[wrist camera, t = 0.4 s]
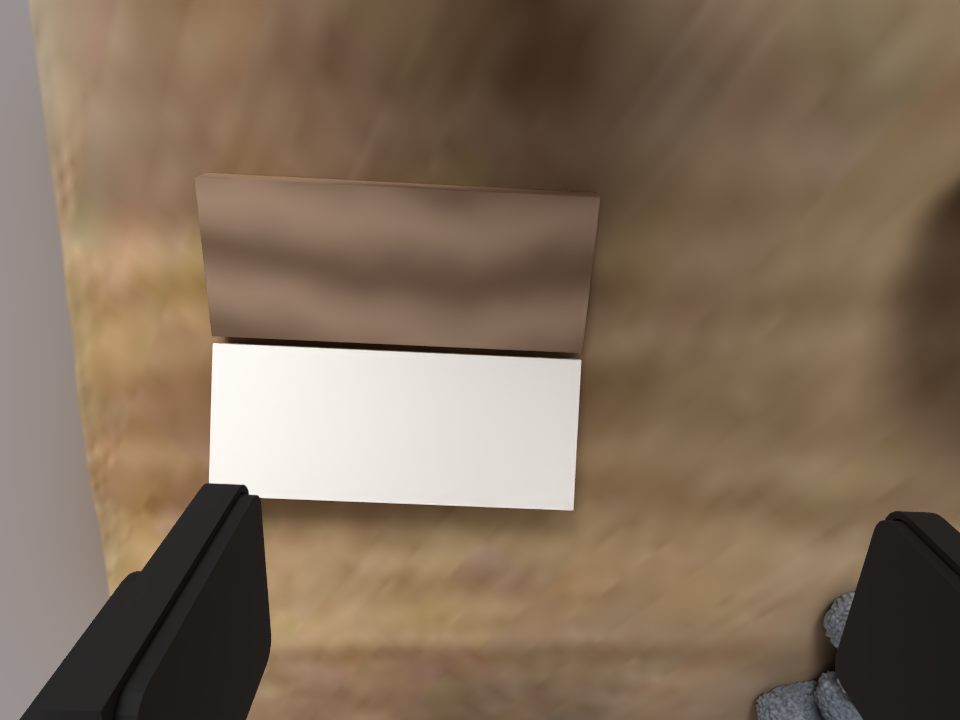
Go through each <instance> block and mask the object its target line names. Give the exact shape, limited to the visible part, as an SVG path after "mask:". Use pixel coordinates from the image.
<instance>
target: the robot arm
mask: <svg viewBox="0 0 960 720" xmlns="http://www.w3.org/2000/svg"><path fill="white" fill-rule="evenodd" d="M270 647H271V628H270V615H269V602H268V589H267V576H266V563H265V550H264V537H263V524H262V510H261V501H260V498H259V496H258V495H249V491H248V489H247V487H246V486H245V485H240V484H215V483H207V484H204V485H203V486H202V487H201V489H200V490H199V492H198V493H197V494H196V496H195V497H194V499H193V500H192V501H191V503H190V504H189V505H188V507H187V508H186V510H185V511H184V512H183V514H182V515H181V517H180V518H179V519H178V521H177V522H176V524H175V525H174V526H173V528H172V529H171V531H170V532H169V533H168V535H167V536H166V538H165V539H164V540H163V542H162V543H161V545H160V546H159V547H158V549H157V550H156V552H155V553H154V554H153V556H152V557H151V558H150V560H149V561H148V563H147V564H146V565H145V567H144V568H143V570H142V571H136V572H133V573H131V574H129V575H128V576H127V577H126V578H125V579H124V580H123V581H122V582H121V584H120V585H119V586H118V588H117V589H116V590H115V592H114V593H113V594H112V596H111V597H110V598H109V600H108V601H107V602H106V604H105V605H104V606H103V608H102V609H101V611H100V612H99V613H98V615H97V616H96V617H95V619H94V620H93V621H92V623H91V624H90V625H89V627H88V628H87V629H86V631H85V632H84V634H83V635H82V636H81V638H80V639H79V640H78V642H77V643H76V644H75V646H74V647H73V648H72V650H71V651H70V652H69V654H68V655H67V656H66V658H65V659H64V660H63V662H62V663H61V665H60V666H59V667H58V668H57V670H56V671H55V673H54V674H53V675H52V677H51V678H50V679H49V681H48V682H47V683H46V685H45V686H44V687H43V689H42V690H41V691H40V693H39V694H38V695H37V697H36V698H35V699H34V701H33V702H32V704H31V705H30V706H29V708H28V709H27V710H26V712H25V713H24V714H23V716H22V717H21V718H20V720H246V718H247V715H248V713H249V710H250V707H251V705H252V702H253V699H254V697H255V694H256V691H257V689H258V686H259V683H260V681H261V678H262V675H263V673H264V670H265V667H266V665H267V662H268V658H269V654H270ZM835 669H836V674H837V677H838V680H839V682H840V684H841V685H842V687H843V689H844V690H845V692H846V693H847V695H848V697H849V698H850V700H851V701H852V703H853V704H854V706H855V708H856V709H857V711H858V712H859V714H860V716H861V717H862V719H863V720H960V533H959V532H958V531H957V530H956V529H955V528H954V527H952V526H951V525H950V524H949V523H948V522H947V521H946V520H945V519H943V518H942V517H941V516H939V515H938V514H935V513H926V512H902V511H895V512H892V513H890V514H889V515H888V516H887V517H886V519H885V520H883V521H880V522H879V523H878V524H877V525H876V527H875V529H874V532H873V536H872V539H871V542H870V545H869V549H868V552H867V555H866V558H865V562H864V565H863V568H862V572H861V575H860V578H859V581H858V585H857V588H856V591H855V594H854V598H853V601H852V604H851V607H850V611H849V614H848V617H847V620H846V624H845V627H844V630H843V633H842V637H841V640H840V643H839V646H838V650H837V653H836V657H835Z"/></svg>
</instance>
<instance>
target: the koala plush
mask: <svg viewBox="0 0 960 720" xmlns="http://www.w3.org/2000/svg"><path fill="white" fill-rule="evenodd" d="M854 594H855V592H854V591H852V592H848V593H846V594H843V595H841V598H837V599H836V600H834V603H833V605H832V606H831V609H830V610H829V611H828V612H827V613H826V615H825V617H824V619H823V620H824V623H823V624H824V627H825V628H826V630H827V631H826V633H825V635H826V636H827V637H829V638H830V642H831V643H832V644H833V645H834V646H835V647H836V648H837V649H838V646H839V643H840V640H841V637H842V633H843V630H844V627H845V624H846V620H847V617H848V614H849V611H850V607H851V604H852V601H853V598H854ZM755 701H756V702H757V703H758V704H756V705H755V707H756V708H757V709H756V711H757V719H758V720H863V719H862V717H861V716H860V714H859V712H858V711H857V709H856V708H855V706H854V704H853V703H852V701H851V700H850V698H849V697H848V695H847V693H846V692H845V690H844V689H843V687H842V685H841V684H840V682H839V680H838V677H837V674H836V672H835V671H827V673H822V675H821V677H820V678H819V680H818V681H811V682H808V681H805V682H804V683H802V682H798V683H794V684H791V685H789V684H788V685H787V686H781V687H776V688H775V689H772V690H771V691H770V692H768V693H763V694H762V695H761V696H759V698H758V699H757V700H755Z"/></svg>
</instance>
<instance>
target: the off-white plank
mask: <svg viewBox="0 0 960 720" xmlns="http://www.w3.org/2000/svg"><path fill="white" fill-rule="evenodd" d="M580 376H581V360H579V359H572V358H551V357H529V356H507V355H485V354H463V353H441V352H419V351H397V350H375V349H353V348H331V347H309V346H287V345H265V344H243V343H213V356H212V393H211V430H210V466H209V483H215V484H240V485H245V486H246V487H247V489H248V491H249V495H258V496H259V498H276V499H301V500H325V501H350V502H375V503H400V504H424V505H449V506H474V507H499V508H523V509H548V510H573V507H574V488H575V469H576V451H577V432H578V413H579V395H580Z"/></svg>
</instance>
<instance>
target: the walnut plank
mask: <svg viewBox="0 0 960 720" xmlns="http://www.w3.org/2000/svg"><path fill="white" fill-rule="evenodd" d="M194 178H195V187H196V196H197V205H198V214H199V223H200V232H201V241H202V250H203V259H204V268H205V277H206V286H207V295H208V304H209V313H210V322H211V331H212V336H220V337H242V338H264V339H285V340H307V341H329V342H351V343H373V344H395V345H417V346H439V347H461V348H482V349H504V350H526V351H548V352H570V353H582V350H583V342H584V333H585V325H586V317H587V308H588V300H589V291H590V283H591V274H592V266H593V257H594V249H595V240H596V232H597V223H598V215H599V206H600V197H599V196H598V195H597V194H596V193H594V192H574V191H555V190H535V189H516V188H496V187H477V186H457V185H437V184H418V183H398V182H379V181H359V180H340V179H320V178H300V177H281V176H261V175H242V174H222V173H205V174H202V175H199V176H196V177H194Z"/></svg>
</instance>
